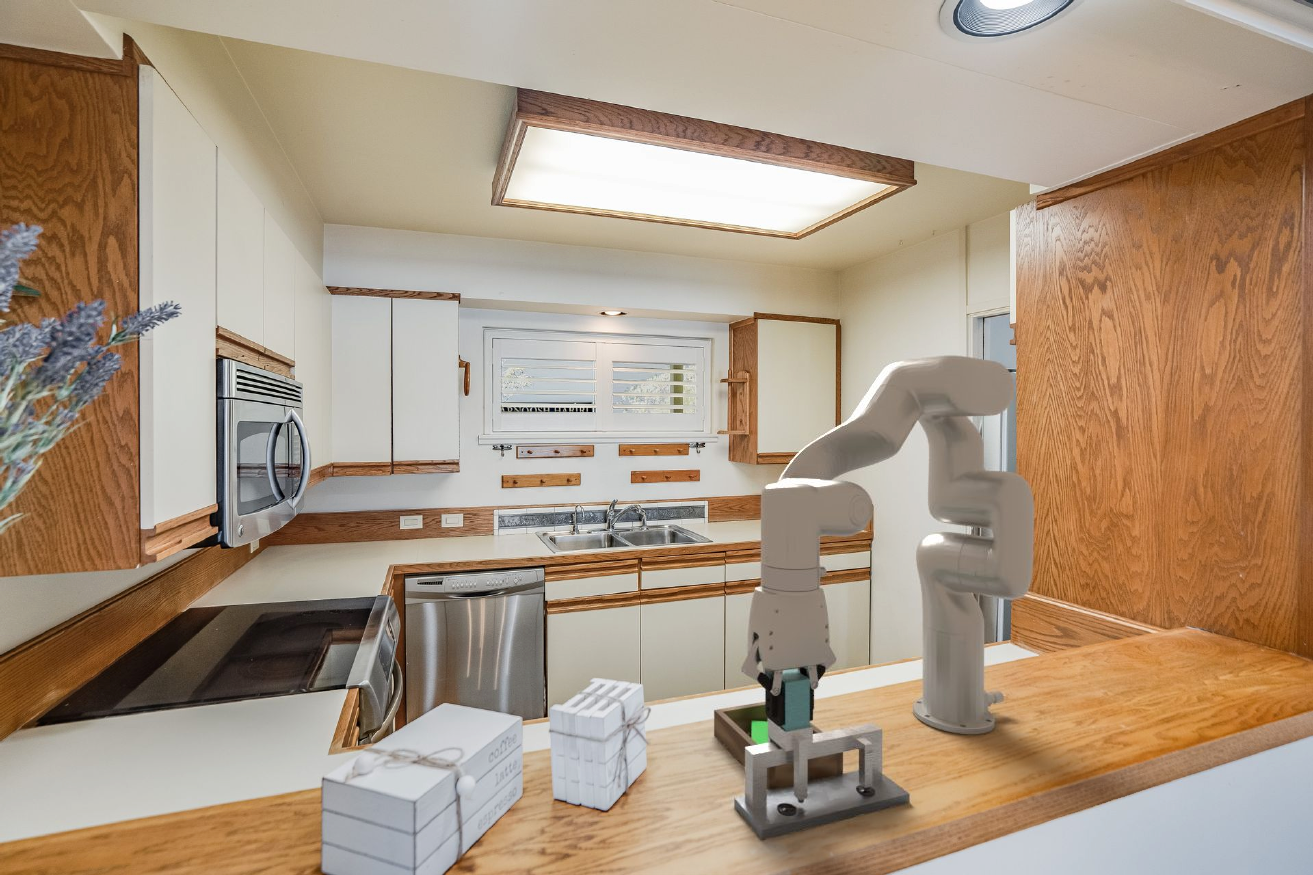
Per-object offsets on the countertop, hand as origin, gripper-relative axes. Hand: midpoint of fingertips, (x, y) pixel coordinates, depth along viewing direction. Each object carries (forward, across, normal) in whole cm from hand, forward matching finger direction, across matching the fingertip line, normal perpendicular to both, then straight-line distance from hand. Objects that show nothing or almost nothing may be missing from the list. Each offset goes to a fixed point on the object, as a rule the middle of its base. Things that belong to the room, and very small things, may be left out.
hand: (789, 717), depth 80 cm
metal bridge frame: (+11, -4, +1) cm, 12 cm away
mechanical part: (+11, -4, -12) cm, 17 cm away
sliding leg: (+9, 0, 0) cm, 9 cm away
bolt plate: (+11, -4, +2) cm, 12 cm away
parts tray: (+11, -5, -12) cm, 17 cm away
